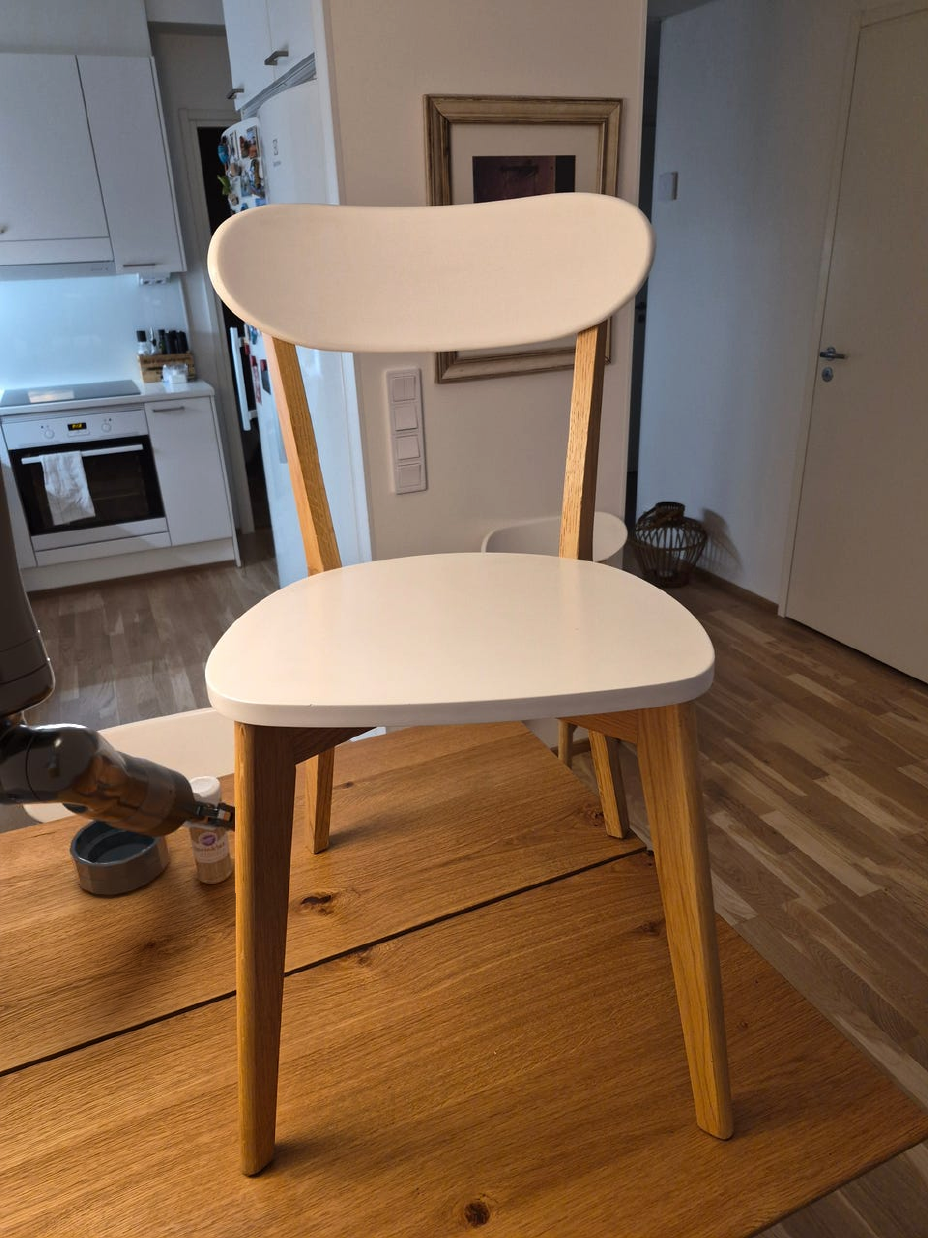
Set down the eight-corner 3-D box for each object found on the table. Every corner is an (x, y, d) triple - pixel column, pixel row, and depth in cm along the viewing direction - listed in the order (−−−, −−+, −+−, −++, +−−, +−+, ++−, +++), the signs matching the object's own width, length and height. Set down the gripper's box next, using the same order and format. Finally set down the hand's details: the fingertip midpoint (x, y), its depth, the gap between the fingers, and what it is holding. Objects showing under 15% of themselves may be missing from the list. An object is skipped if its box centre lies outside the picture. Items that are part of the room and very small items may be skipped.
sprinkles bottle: (202, 890, 102) (186, 801, 97) (192, 869, 106) (176, 781, 100) (238, 877, 104) (224, 788, 99) (228, 856, 108) (214, 770, 102)
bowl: (60, 896, 102) (51, 863, 100) (105, 837, 112) (97, 807, 110) (147, 900, 101) (140, 868, 99) (184, 841, 111) (178, 811, 109)
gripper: (210, 771, 88) (271, 797, 103) (96, 753, 92) (171, 781, 106) (189, 842, 86) (255, 859, 100) (73, 821, 89) (154, 840, 104)
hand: (212, 819), depth 103 cm, fingers open, 8 cm apart
